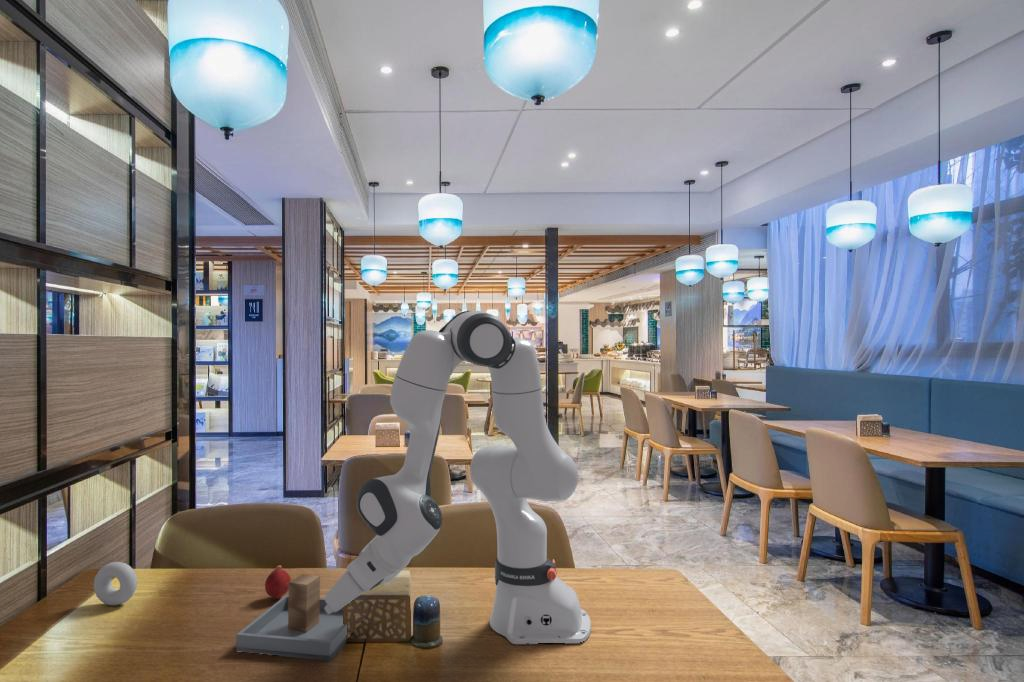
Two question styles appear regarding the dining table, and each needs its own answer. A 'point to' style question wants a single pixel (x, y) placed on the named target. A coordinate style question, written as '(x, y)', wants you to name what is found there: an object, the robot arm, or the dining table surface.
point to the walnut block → (304, 603)
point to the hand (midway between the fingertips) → (341, 599)
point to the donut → (105, 588)
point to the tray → (293, 634)
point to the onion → (277, 583)
